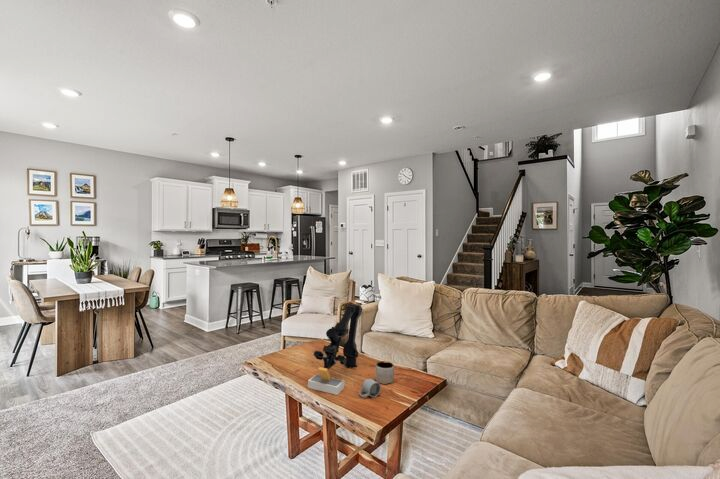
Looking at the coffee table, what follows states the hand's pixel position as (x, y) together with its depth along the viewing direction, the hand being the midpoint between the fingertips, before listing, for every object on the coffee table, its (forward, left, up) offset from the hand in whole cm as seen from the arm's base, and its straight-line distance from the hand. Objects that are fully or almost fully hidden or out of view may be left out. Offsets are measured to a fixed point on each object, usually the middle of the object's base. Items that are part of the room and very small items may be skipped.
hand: (324, 372), depth 181 cm
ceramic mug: (-22, +12, -10) cm, 27 cm away
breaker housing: (-2, -2, -10) cm, 10 cm away
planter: (-37, -1, -10) cm, 38 cm away
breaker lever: (-2, -2, -5) cm, 6 cm away
